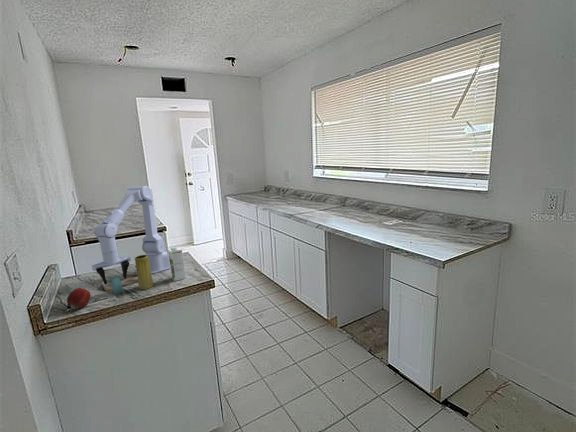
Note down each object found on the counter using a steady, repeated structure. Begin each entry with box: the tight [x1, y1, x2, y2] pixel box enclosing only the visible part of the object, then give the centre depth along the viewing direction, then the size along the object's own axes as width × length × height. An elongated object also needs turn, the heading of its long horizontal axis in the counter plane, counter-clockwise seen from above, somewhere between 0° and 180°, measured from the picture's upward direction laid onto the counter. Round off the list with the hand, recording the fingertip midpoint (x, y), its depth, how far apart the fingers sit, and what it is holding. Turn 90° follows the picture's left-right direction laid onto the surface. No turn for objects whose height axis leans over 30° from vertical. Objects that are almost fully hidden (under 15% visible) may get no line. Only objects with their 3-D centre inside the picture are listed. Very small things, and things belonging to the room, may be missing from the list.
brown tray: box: [101, 271, 138, 293], centre depth 141 cm, size 15×11×2 cm
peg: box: [109, 274, 124, 295], centre depth 131 cm, size 4×4×7 cm
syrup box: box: [167, 246, 187, 282], centre depth 141 cm, size 6×6×14 cm
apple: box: [66, 287, 91, 309], centre depth 119 cm, size 7×8×8 cm
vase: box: [134, 254, 154, 290], centre depth 134 cm, size 6×6×14 cm
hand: (115, 280), depth 131 cm, fingers open, 7 cm apart
